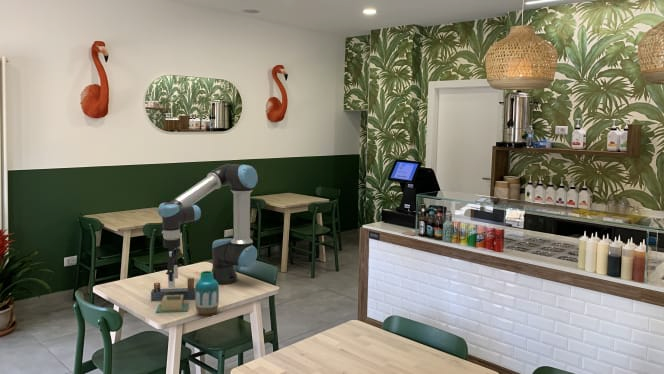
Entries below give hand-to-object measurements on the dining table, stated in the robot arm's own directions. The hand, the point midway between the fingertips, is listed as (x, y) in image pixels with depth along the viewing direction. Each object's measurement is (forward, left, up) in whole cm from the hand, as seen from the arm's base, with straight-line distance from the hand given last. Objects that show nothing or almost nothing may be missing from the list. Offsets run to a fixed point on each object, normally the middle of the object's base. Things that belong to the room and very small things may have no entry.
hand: (173, 283), depth 246 cm
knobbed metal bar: (+1, -14, -12) cm, 18 cm away
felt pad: (0, 0, -12) cm, 12 cm away
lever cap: (0, 0, -12) cm, 12 cm away
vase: (-16, +8, -12) cm, 22 cm away
